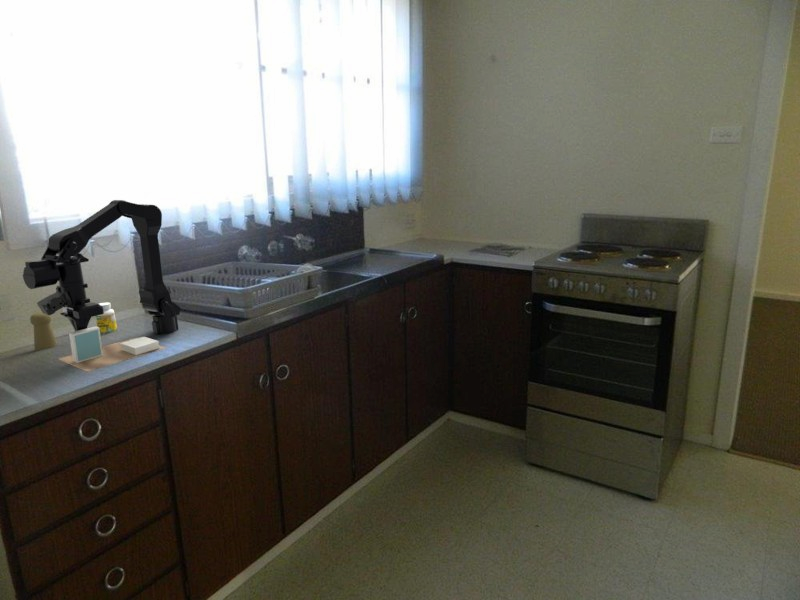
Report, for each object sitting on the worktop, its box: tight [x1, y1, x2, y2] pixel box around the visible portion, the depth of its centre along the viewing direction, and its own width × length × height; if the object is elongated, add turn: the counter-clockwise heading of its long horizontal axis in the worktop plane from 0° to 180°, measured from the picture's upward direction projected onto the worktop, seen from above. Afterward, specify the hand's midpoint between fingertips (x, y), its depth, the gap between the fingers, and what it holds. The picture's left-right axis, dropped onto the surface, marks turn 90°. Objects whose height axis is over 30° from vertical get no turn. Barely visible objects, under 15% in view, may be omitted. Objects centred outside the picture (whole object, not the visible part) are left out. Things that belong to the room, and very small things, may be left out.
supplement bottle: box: [95, 301, 118, 335], centre depth 183 cm, size 5×5×10 cm
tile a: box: [120, 336, 161, 355], centre depth 164 cm, size 7×2×8 cm
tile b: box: [68, 325, 103, 363], centre depth 157 cm, size 7×2×8 cm, turn 142°
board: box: [57, 337, 167, 373], centre depth 162 cm, size 22×17×1 cm
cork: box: [29, 311, 58, 352], centre depth 169 cm, size 6×6×11 cm
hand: (81, 337), depth 158 cm, fingers closed
